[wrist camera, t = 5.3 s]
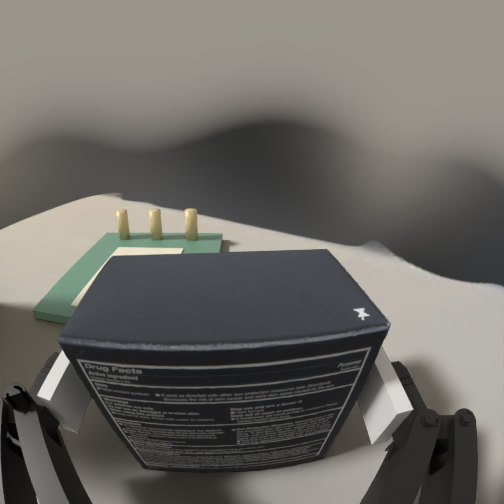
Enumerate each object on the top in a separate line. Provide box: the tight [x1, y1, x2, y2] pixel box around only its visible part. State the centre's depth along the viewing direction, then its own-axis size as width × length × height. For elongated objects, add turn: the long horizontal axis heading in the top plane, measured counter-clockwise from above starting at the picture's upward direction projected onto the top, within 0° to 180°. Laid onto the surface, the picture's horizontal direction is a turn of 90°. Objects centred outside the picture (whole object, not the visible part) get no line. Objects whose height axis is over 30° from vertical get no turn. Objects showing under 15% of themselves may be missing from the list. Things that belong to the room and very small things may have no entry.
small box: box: [58, 249, 391, 473], centre depth 12 cm, size 11×6×10 cm, turn 97°
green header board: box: [33, 209, 222, 324], centre depth 29 cm, size 18×20×5 cm
